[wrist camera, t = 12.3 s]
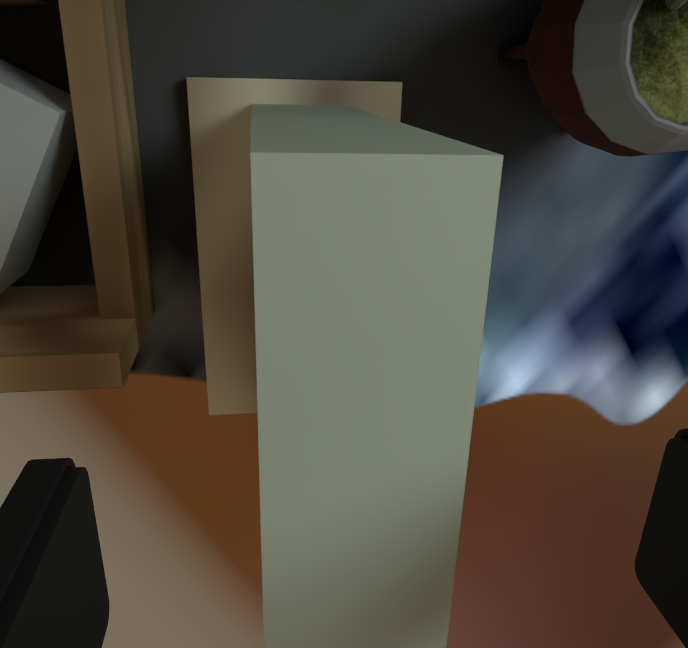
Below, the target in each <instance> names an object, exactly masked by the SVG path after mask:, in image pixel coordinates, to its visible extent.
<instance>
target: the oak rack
mask: <svg viewBox="0 0 688 648" xmlns="http://www.w3.org/2000/svg"><path fill="white" fill-rule="evenodd" d="M58 2H59V9H60V17H61V25H62V32H63V40H64V48H65V55H66V63H67V70H68V78H69V86H70V93H71V101H72V108H73V116H74V124H75V131H76V139H77V147H78V154H79V162H80V169H81V177H82V185H83V192H84V200H85V207H86V215H87V223H88V230H89V238H90V245H91V253H92V261H93V268H94V276H95V284H96V285H64V286H15V287H9V288H7V289H6V290H5V291H4V292H3V293H2V294H1V295H0V393H4V392H26V391H52V390H73V389H74V390H76V389H98V388H99V389H100V388H122V387H123V386H124V384H125V381H126V379H127V377H128V374H129V372H130V369H131V367H132V365H133V362H134V360H135V357H136V355H137V352H138V350H139V348H140V345H141V343H142V340H143V338H144V336H145V333H146V331H147V328H148V326H149V324H150V321H151V319H152V316H153V314H154V312H155V308H154V297H153V287H152V277H151V266H150V256H149V245H148V235H147V225H146V214H145V204H144V194H143V183H142V173H141V162H140V152H139V142H138V131H137V121H136V110H135V100H134V90H133V79H132V69H131V58H130V48H129V38H128V27H127V17H126V6H125V0H58Z"/></svg>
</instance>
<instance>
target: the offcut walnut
mask: <svg viewBox="0 0 688 648" xmlns="http://www.w3.org/2000/svg"><path fill="white" fill-rule="evenodd" d="M27 5H49V4H48V0H0V6H27Z"/></svg>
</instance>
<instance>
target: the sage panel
mask: <svg viewBox="0 0 688 648" xmlns="http://www.w3.org/2000/svg"><path fill="white" fill-rule="evenodd" d="M503 156H504V155H501V154H498V153H495V152H492V151H489V150H485V149H482V148H479V147H476V146H473V145H470V144H467V143H463V142H460V141H457V140H454V139H451V138H448V137H445V136H441V135H438V134H435V133H432V132H429V131H426V130H423V129H419V128H416V127H413V126H410V125H407V124H404V123H401V122H397V121H394V120H391V119H388V118H385V117H382V116H379V115H375V114H372V113H369V112H366V111H363V110H360V109H357V108H353V107H350V106H344V105H299V104H254V103H252V112H251V145H250V160H251V196H252V231H253V266H254V302H255V337H256V373H257V408H258V440H259V441H258V443H259V476H260V512H261V548H262V584H263V616H264V617H263V618H264V648H446V643H447V635H448V626H449V617H450V609H451V600H452V592H453V583H454V574H455V565H456V558H457V549H458V541H459V532H460V523H461V515H462V506H463V498H464V489H465V481H466V471H467V463H468V454H469V446H470V438H471V430H472V421H473V412H474V404H475V395H476V387H477V378H478V370H479V361H480V353H481V344H482V336H483V327H484V318H485V310H486V301H487V293H488V284H489V276H490V267H491V259H492V250H493V242H494V233H495V225H496V216H497V207H498V199H499V190H500V182H501V173H502V165H503Z"/></svg>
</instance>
